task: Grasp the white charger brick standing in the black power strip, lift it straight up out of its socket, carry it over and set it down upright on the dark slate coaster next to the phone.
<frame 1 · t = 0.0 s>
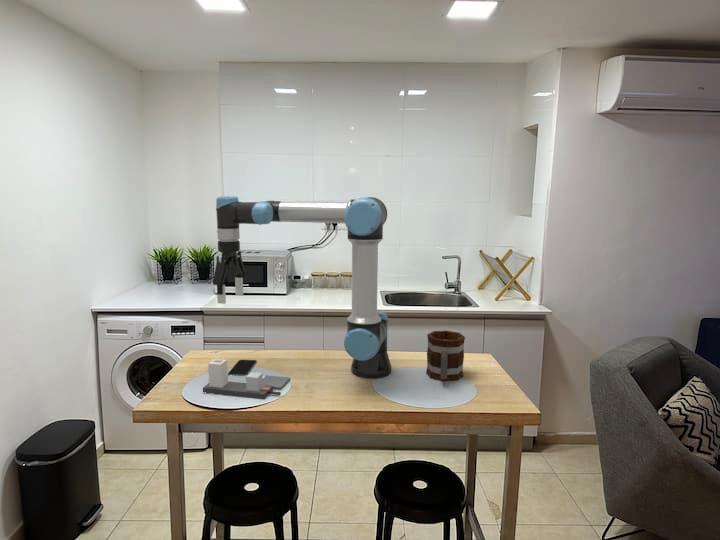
hand: (230, 299, 179), 28 cm above the table, fingers open, 13 cm apart
power strip: (238, 391, 167), on the table
coaster: (273, 383, 174), on the table
smartphone: (242, 369, 189), on the table
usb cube: (254, 387, 166), point 2 cm above the table, touching power strip
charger: (218, 384, 169), point 2 cm above the table, touching power strip
mug: (444, 378, 181), on the table
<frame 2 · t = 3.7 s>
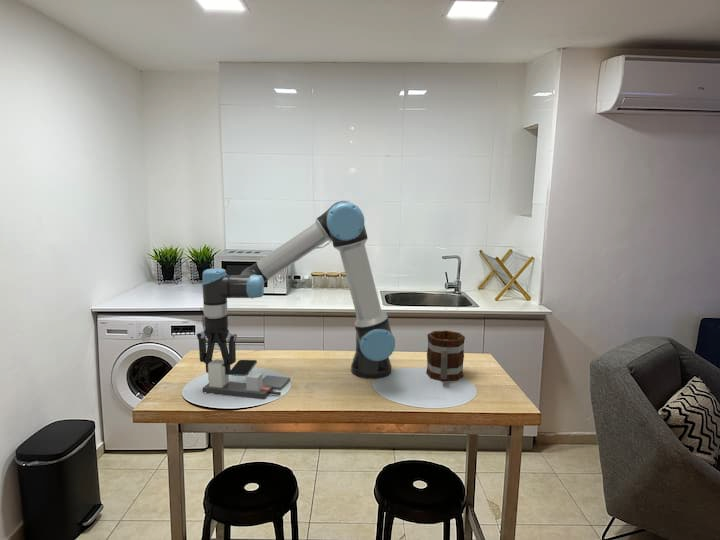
hand: (218, 382, 168), 3 cm above the table, fingers closed on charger, 4 cm apart
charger: (218, 384, 169), point 2 cm above the table, touching gripper, power strip
everything else where it was.
when the fingers open (3 cm above the table, at t = 8.9 s): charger drops 1 cm, resting on coaster.
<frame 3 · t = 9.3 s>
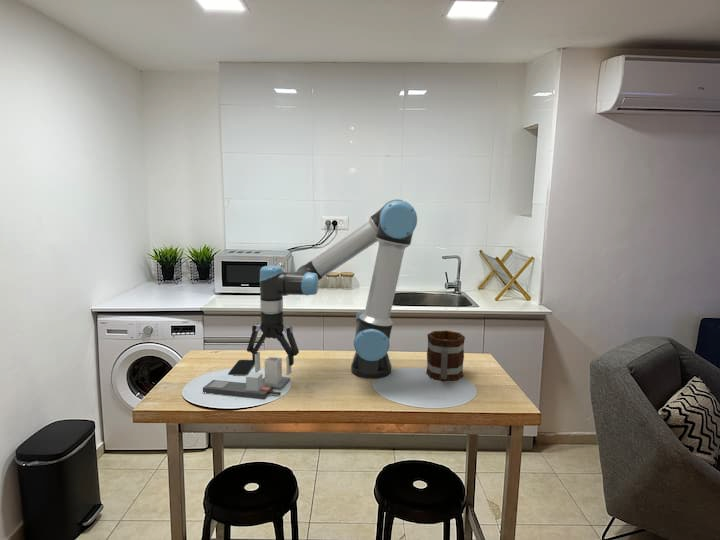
hand: (273, 372, 174), 4 cm above the table, fingers open, 11 cm apart
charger: (273, 381, 174), point 1 cm above the table, touching coaster
everything else where it was.
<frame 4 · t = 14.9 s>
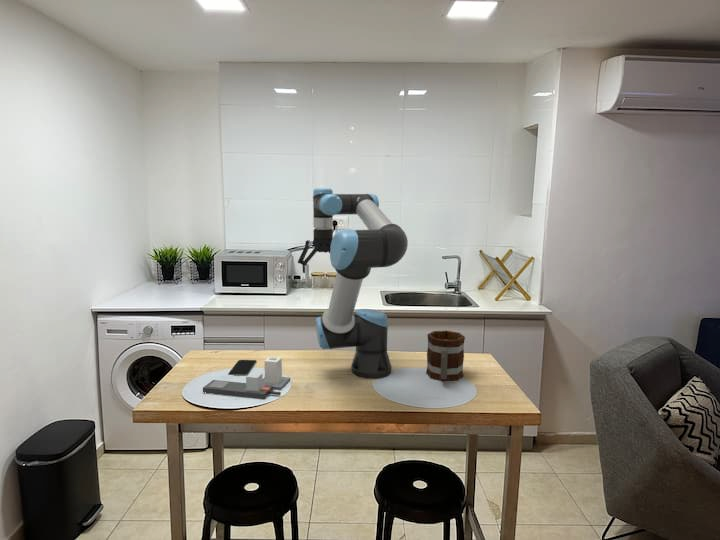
hand: (323, 282, 197), 31 cm above the table, fingers open, 13 cm apart
nothing on the table moved.
at the end: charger 0.0 cm from the coaster (horizontally); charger point 1.0 cm above the table; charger tilted 0° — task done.
